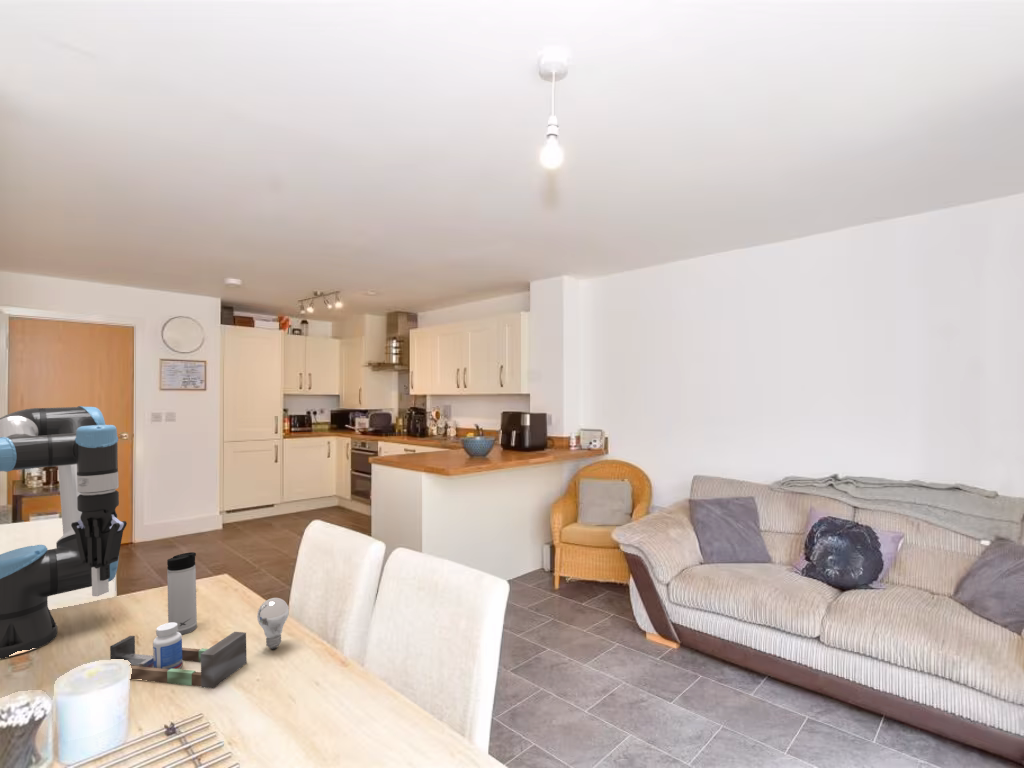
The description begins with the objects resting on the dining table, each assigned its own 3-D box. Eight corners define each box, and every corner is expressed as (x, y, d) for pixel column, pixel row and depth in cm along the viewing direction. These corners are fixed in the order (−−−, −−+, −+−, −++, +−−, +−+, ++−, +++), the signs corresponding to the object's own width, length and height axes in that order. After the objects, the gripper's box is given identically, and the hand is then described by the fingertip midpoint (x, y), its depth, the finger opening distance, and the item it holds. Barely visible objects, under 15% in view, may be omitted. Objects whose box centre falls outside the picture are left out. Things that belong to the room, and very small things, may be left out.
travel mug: (188, 635, 132) (186, 557, 132) (162, 636, 133) (161, 558, 133) (203, 624, 139) (201, 549, 139) (179, 624, 139) (177, 550, 139)
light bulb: (280, 638, 130) (279, 590, 130) (295, 646, 126) (293, 597, 126) (252, 649, 125) (251, 600, 125) (266, 659, 120) (265, 607, 120)
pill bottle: (188, 663, 119) (187, 620, 119) (170, 676, 114) (169, 632, 114) (166, 662, 120) (165, 620, 120) (147, 675, 114) (146, 631, 114)
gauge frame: (121, 679, 113) (121, 647, 113) (160, 655, 123) (160, 625, 123) (213, 688, 109) (213, 655, 109) (246, 663, 119) (246, 632, 119)
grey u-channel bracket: (108, 669, 116) (108, 647, 116) (132, 655, 122) (132, 634, 122) (143, 673, 114) (142, 650, 114) (166, 658, 120) (165, 637, 120)
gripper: (58, 494, 118) (60, 599, 117) (106, 495, 115) (108, 601, 115) (90, 488, 125) (93, 586, 125) (136, 488, 122) (138, 588, 122)
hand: (100, 593), depth 120 cm, fingers closed
